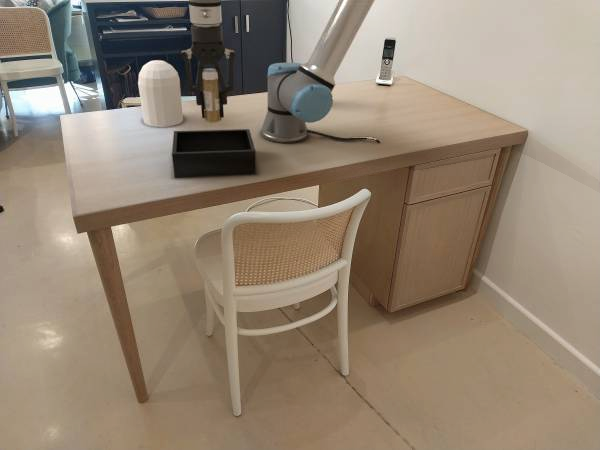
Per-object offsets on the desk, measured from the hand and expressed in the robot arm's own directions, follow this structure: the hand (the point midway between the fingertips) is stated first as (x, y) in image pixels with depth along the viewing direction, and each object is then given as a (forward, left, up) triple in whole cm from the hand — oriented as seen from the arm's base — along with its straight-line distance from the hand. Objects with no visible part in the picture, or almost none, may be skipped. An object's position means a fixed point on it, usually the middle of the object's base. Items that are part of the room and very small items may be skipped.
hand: (212, 116), depth 122 cm
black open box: (0, 0, -14) cm, 14 cm away
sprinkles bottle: (0, 0, -1) cm, 1 cm away
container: (+16, -36, -14) cm, 42 cm away
